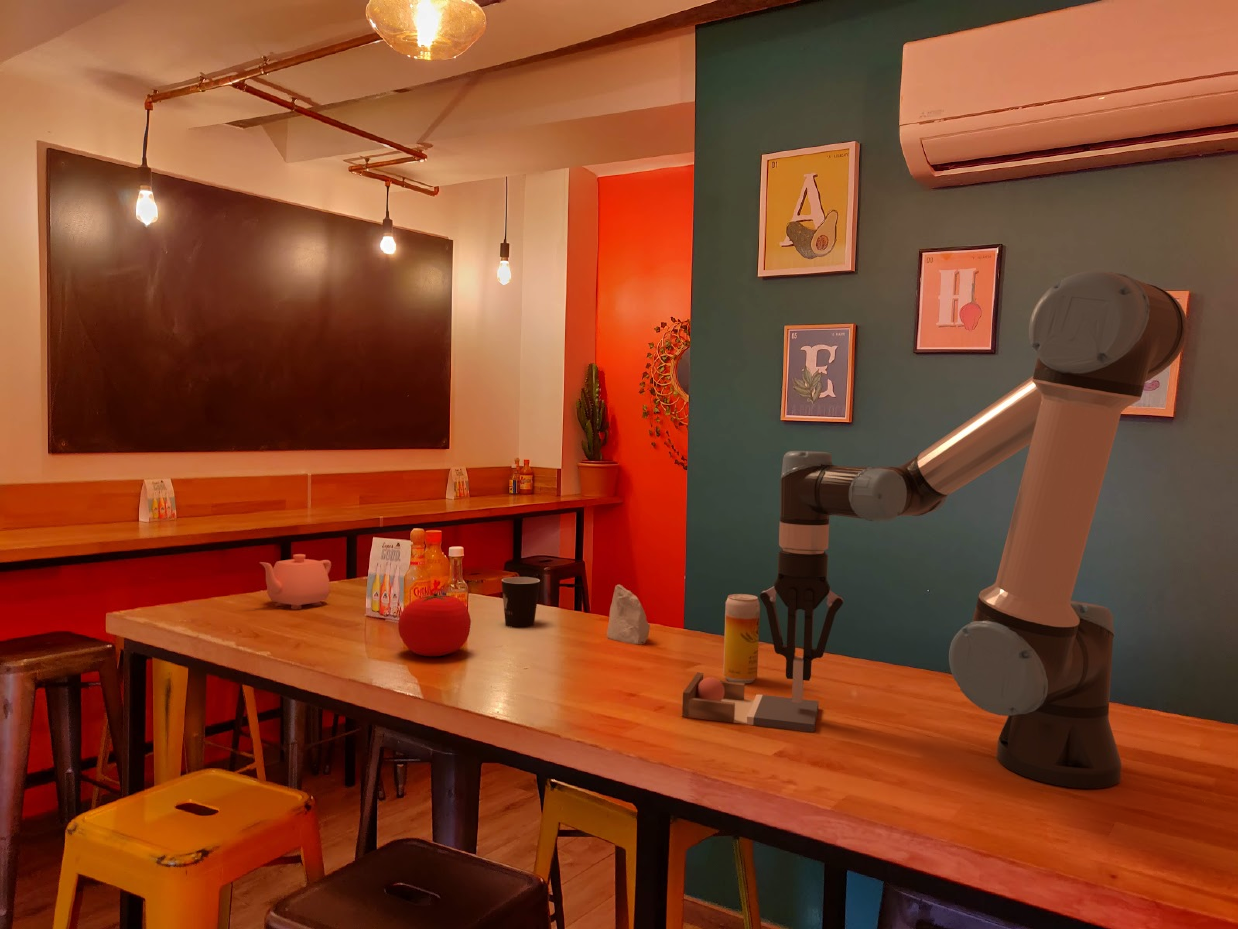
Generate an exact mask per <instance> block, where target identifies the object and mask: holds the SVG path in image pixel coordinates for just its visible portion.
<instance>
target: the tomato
mask: <svg viewBox="0 0 1238 929" xmlns="http://www.w3.org/2000/svg"><path fill="white" fill-rule="evenodd" d="M471 620H472V619H471V614H470V612H469V610H468V608H467V606H466V604H465V603H464V602H463V601H462V600H461V599H460V598H458V597H455V596H453V595H446V594H445V595H444V594H438V593H436V592H434V593H433V595H432V594H431V595H425V596H423V595H421V596H419V597H418V598H416V599H414V600H412V601H411V602H409V603H408V604H407V605H406V606H405V607H404V608H403V610H402V612H401V613H400V615H399V617H398V622H397V623H398V627H397V628H398V633H399V637H400V638H401V640H402V641H403V644H404V645H405V646H406V647H407V648H408V650H410V651H411V652H413V653H414V654H416V655H420V656H424V657H441V656H445V655H450V654H452V653H454V652H457V651H458V650H459V649H460V648H462V647H463V645H465V643H467V641H468V638H469V635H470V630H471V626H472V625H471V623H472V621H471Z"/></svg>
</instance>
